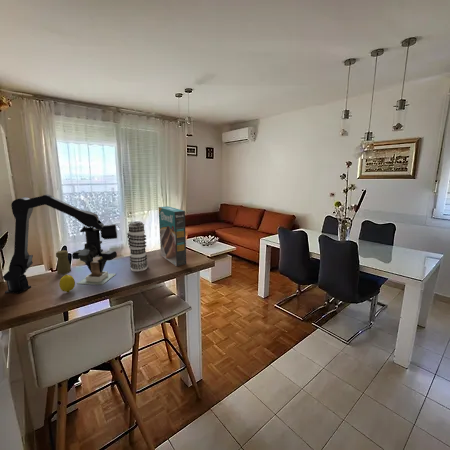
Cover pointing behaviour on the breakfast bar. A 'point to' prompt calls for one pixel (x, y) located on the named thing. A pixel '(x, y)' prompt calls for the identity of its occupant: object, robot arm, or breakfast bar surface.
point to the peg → (95, 269)
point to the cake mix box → (172, 235)
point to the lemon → (67, 283)
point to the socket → (97, 279)
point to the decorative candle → (137, 246)
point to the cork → (63, 262)
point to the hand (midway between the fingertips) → (96, 272)
